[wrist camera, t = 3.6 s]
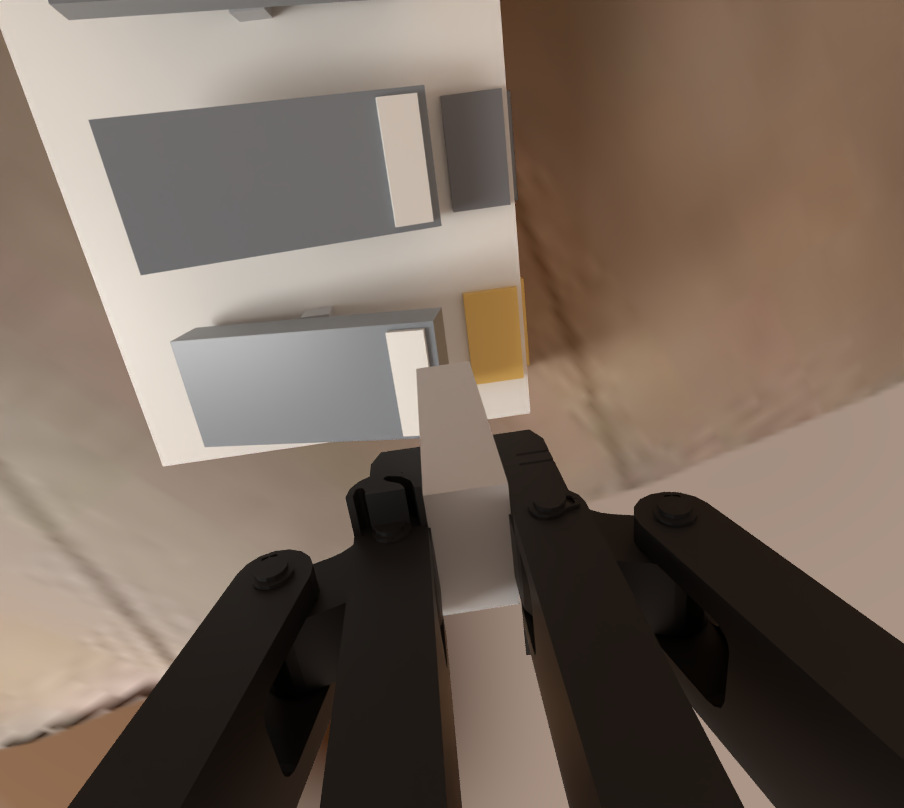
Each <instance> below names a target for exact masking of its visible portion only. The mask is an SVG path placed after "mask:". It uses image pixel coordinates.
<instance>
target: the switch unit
mask: <svg viewBox="0 0 904 808" xmlns="http://www.w3.org/2000/svg"><path fill="white" fill-rule="evenodd" d="M0 28H1V31H2V34H3V36H4V39H5V42H6V44H7V47H8V50H9V52H10V55H11V58H12V61H13V63H14V66H15V69H16V71H17V74H18V77H19V79H20V82H21V85H22V87H23V90H24V93H25V96H26V98H27V101H28V104H29V106H30V109H31V112H32V114H33V117H34V120H35V122H36V125H37V128H38V131H39V133H40V136H41V139H42V141H43V144H44V147H45V149H46V152H47V155H48V157H49V160H50V163H51V166H52V168H53V171H54V174H55V176H56V179H57V182H58V184H59V187H60V190H61V192H62V195H63V198H64V201H65V203H66V206H67V209H68V211H69V214H70V217H71V219H72V222H73V225H74V227H75V230H76V233H77V236H78V238H79V241H80V244H81V246H82V249H83V252H84V254H85V257H86V260H87V262H88V265H89V268H90V271H91V273H92V276H93V279H94V281H95V284H96V287H97V289H98V292H99V295H100V297H101V300H102V303H103V306H104V308H105V311H106V314H107V316H108V319H109V322H110V324H111V327H112V330H113V332H114V335H115V338H116V341H117V343H118V346H119V349H120V351H121V354H122V357H123V359H124V362H125V365H126V367H127V370H128V373H129V376H130V378H131V381H132V384H133V386H134V389H135V392H136V394H137V397H138V400H139V402H140V405H141V408H142V411H143V413H144V416H145V419H146V421H147V424H148V427H149V429H150V432H151V435H152V437H153V440H154V443H155V446H156V448H157V451H158V454H159V456H160V459H161V462H162V464H163V466H169V465H176V464H183V463H189V462H196V461H203V460H210V459H217V458H224V457H231V456H238V455H245V454H252V453H258V452H265V451H272V450H279V449H286V448H293V447H300V446H307V445H314V444H321V443H328V442H320V443H295V444H270V445H246V446H221V447H205V446H204V443H203V440H202V437H201V434H200V431H199V428H198V425H197V422H196V419H195V416H194V413H193V410H192V407H191V404H190V401H189V398H188V395H187V392H186V389H185V386H184V383H183V380H182V377H181V374H180V371H179V368H178V365H177V362H176V359H175V356H174V353H173V350H172V347H171V344H170V341H172V340H174V339H176V338H178V337H179V336H181V335H183V334H185V333H187V332H189V331H190V330H192V329H194V328H197V327H209V326H221V325H233V324H245V323H257V322H269V321H282V320H294V319H306V318H318V317H330V316H342V315H354V314H366V313H378V312H390V311H402V310H414V309H426V308H439V307H442V315H443V322H444V330H445V338H446V345H447V353H448V360H449V364H453V363H460V362H467V361H469V362H470V365H471V368H472V371H473V374H474V378H475V381H476V384H477V387H478V390H479V393H480V397H481V400H482V403H483V406H484V409H485V412H486V415H487V419H493V418H500V417H507V416H514V415H521V414H528V413H530V403H529V390H528V376H527V366H528V365H530V362H529V348H528V334H527V320H526V306H525V292H524V279H523V278H522V277H521V276H520V268H519V254H518V241H517V227H516V213H515V201H516V200H518V194H517V180H516V166H515V152H514V138H513V124H512V110H511V96H510V90H507V91H506V78H505V64H504V51H503V37H502V24H501V10H500V0H362V1H348V2H333V3H318V4H303V5H288V6H273V7H258V8H243V9H229V10H214V11H199V12H184V13H169V14H154V15H139V16H124V17H110V18H95V19H80V20H68V19H66V18H65V17H64V16H63V15H62V14H60V13H59V12H58V11H57V10H56V9H54V8H53V7H52V6H51V5H50V4H49V2H48V0H0ZM418 85H424V87H425V95H426V103H427V111H428V119H429V127H430V135H431V143H432V152H433V160H434V168H435V176H436V184H437V192H438V200H439V208H440V216H441V224H442V226H439V227H433V228H427V229H421V230H415V231H408V232H402V233H396V234H390V235H384V236H378V237H372V238H366V239H360V240H354V241H348V242H341V243H335V244H329V245H323V246H317V247H311V248H305V249H299V250H293V251H287V252H281V253H274V254H268V255H262V256H256V257H250V258H244V259H238V260H232V261H226V262H220V263H214V264H207V265H201V266H195V267H189V268H183V269H177V270H171V271H165V272H159V273H153V274H147V275H140V272H139V269H138V266H137V263H136V260H135V257H134V254H133V251H132V248H131V245H130V242H129V239H128V236H127V233H126V230H125V227H124V224H123V221H122V218H121V215H120V212H119V210H118V207H117V204H116V201H115V198H114V195H113V192H112V189H111V186H110V183H109V180H108V177H107V174H106V171H105V168H104V165H103V162H102V159H101V156H100V153H99V150H98V147H97V144H96V141H95V138H94V136H93V133H92V130H91V127H90V124H89V121H88V120H91V119H101V118H110V117H120V116H129V115H139V114H149V113H158V112H168V111H178V110H187V109H197V108H206V107H216V106H226V105H235V104H245V103H254V102H264V101H274V100H283V99H293V98H302V97H312V96H322V95H331V94H341V93H350V92H360V91H370V90H379V89H389V88H398V87H408V86H418Z"/></svg>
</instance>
